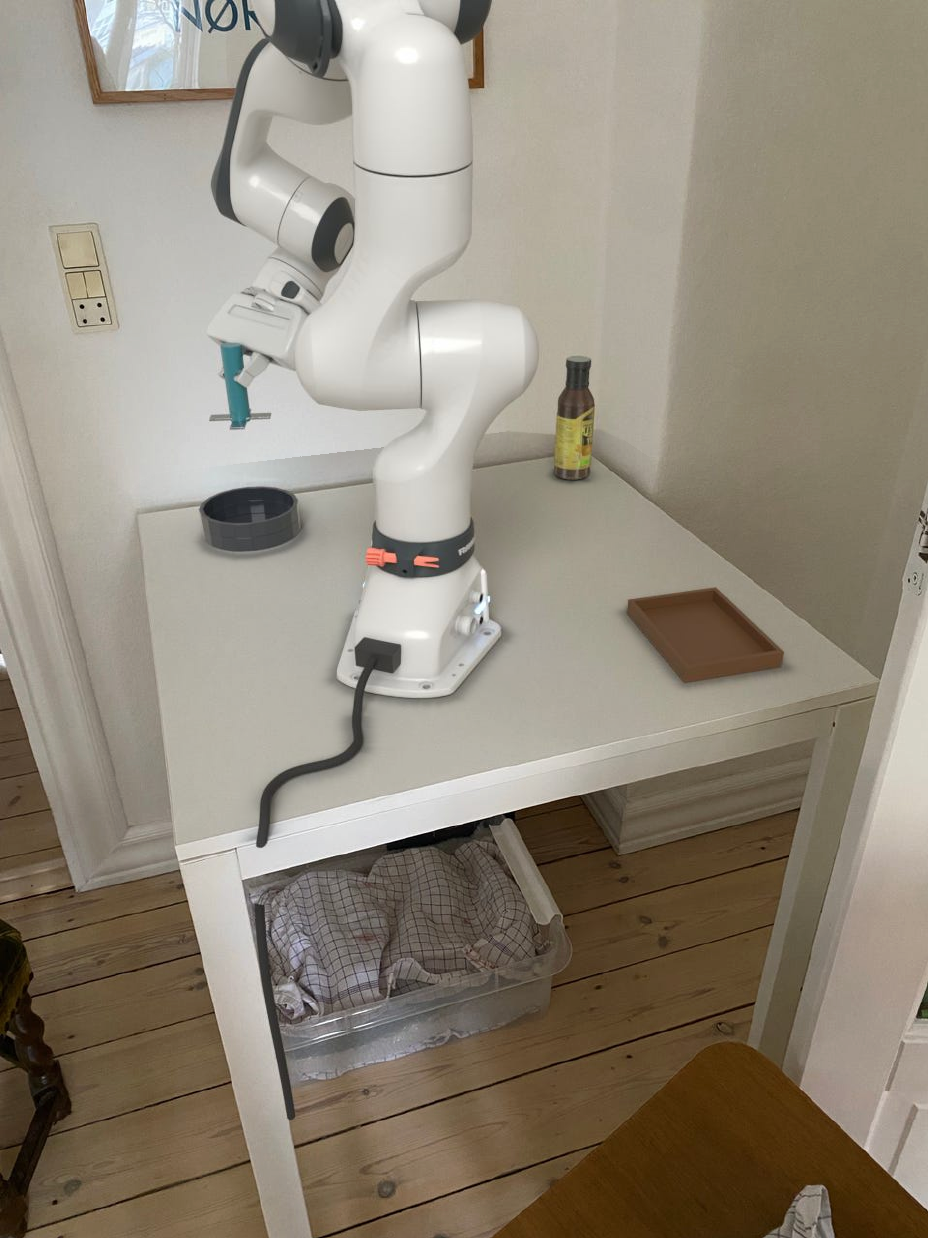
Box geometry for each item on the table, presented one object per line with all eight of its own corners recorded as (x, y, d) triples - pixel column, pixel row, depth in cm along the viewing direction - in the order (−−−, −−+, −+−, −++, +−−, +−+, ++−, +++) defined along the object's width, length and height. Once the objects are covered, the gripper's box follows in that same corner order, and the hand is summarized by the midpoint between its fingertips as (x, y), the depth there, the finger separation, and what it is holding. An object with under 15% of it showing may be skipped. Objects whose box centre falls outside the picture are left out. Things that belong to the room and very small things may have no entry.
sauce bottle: (586, 483, 155) (593, 364, 145) (550, 479, 156) (554, 362, 146) (593, 470, 160) (601, 354, 150) (558, 466, 162) (563, 352, 152)
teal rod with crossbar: (268, 428, 126) (258, 351, 121) (206, 431, 126) (193, 353, 120) (273, 410, 134) (265, 336, 128) (215, 412, 133) (204, 338, 128)
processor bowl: (277, 560, 131) (273, 528, 128) (186, 550, 134) (181, 519, 131) (315, 520, 143) (312, 490, 140) (231, 512, 146) (227, 482, 143)
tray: (781, 667, 106) (784, 651, 105) (684, 683, 103) (686, 667, 102) (713, 601, 119) (716, 587, 118) (626, 613, 117) (627, 599, 116)
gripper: (227, 272, 131) (176, 354, 131) (311, 291, 119) (256, 382, 118) (258, 300, 136) (209, 379, 135) (342, 321, 123) (288, 409, 123)
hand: (231, 381), depth 126 cm, fingers closed on teal rod with crossbar, 3 cm apart
